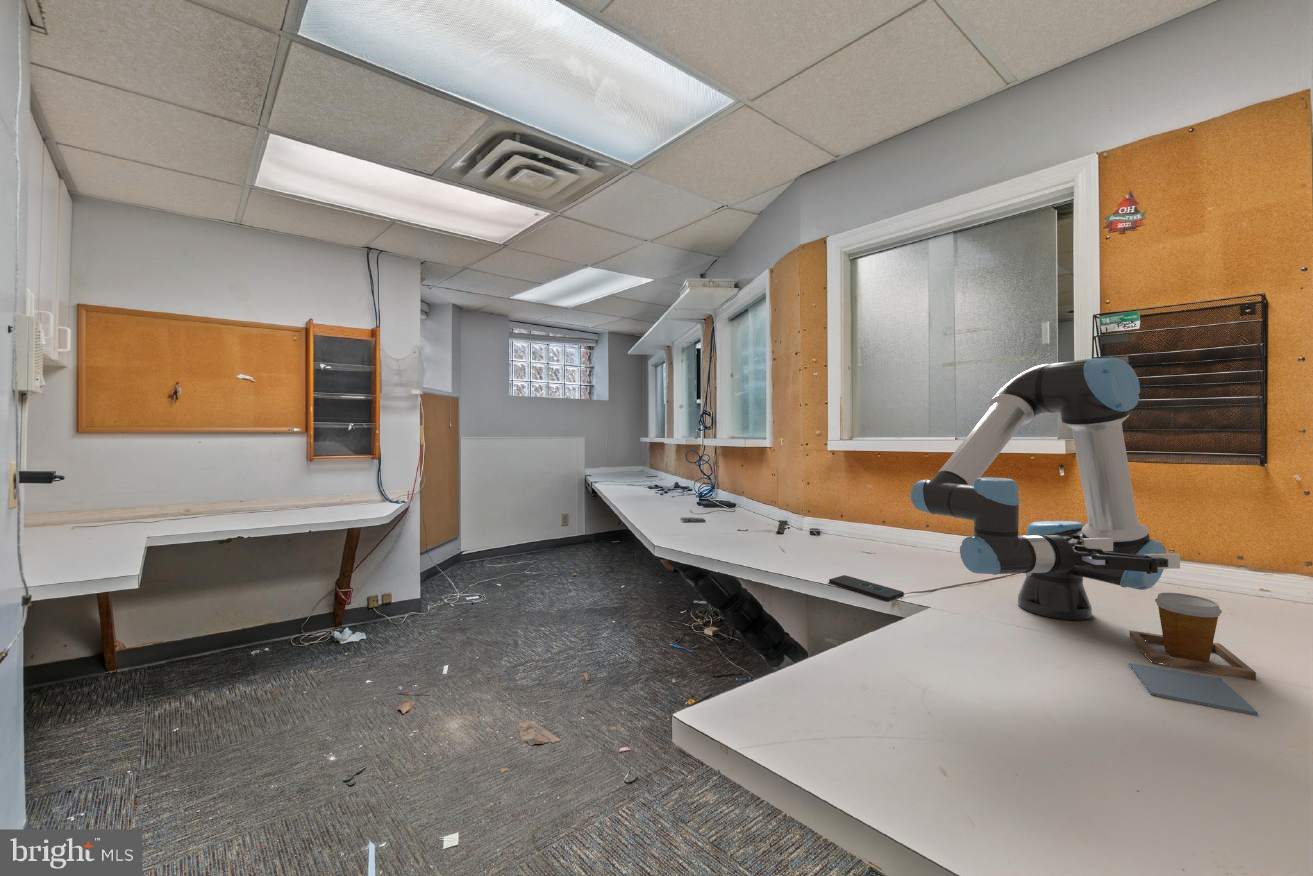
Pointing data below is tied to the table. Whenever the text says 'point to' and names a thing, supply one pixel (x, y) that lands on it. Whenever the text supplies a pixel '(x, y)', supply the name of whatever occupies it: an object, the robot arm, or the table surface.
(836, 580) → the smart home device
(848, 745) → the table surface
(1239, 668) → the cup holder frame
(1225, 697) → the rubber mat
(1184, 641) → the disposable coffee cup
